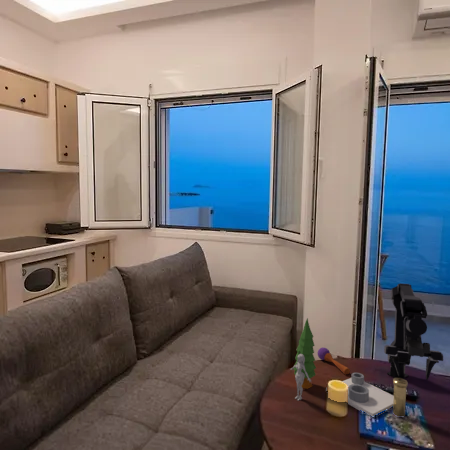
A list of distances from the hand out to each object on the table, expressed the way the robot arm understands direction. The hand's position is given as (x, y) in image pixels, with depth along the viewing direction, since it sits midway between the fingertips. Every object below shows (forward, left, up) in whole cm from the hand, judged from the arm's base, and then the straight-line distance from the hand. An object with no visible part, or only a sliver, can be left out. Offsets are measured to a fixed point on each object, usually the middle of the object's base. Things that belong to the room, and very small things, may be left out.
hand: (412, 377), depth 133 cm
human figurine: (+25, -31, -15) cm, 43 cm away
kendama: (-9, -44, -16) cm, 48 cm away
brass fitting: (+2, -3, -15) cm, 16 cm away
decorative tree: (+16, -38, -15) cm, 44 cm away
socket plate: (+3, -18, -15) cm, 24 cm away
